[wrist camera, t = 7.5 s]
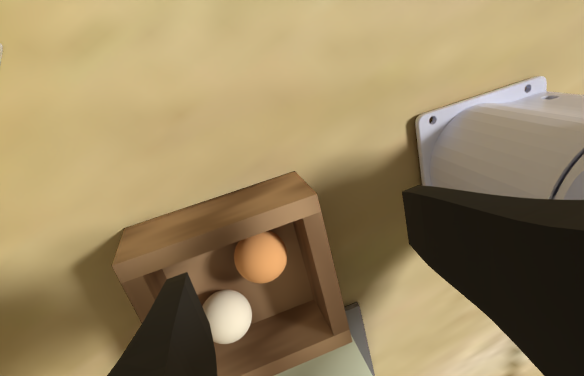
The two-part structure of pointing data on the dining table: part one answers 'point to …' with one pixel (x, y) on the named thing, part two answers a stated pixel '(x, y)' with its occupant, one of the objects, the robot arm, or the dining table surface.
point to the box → (224, 276)
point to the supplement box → (0, 49)
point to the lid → (333, 364)
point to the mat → (359, 332)
